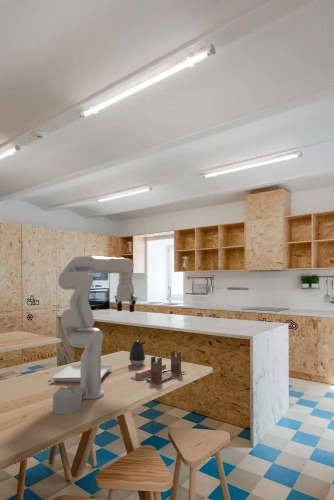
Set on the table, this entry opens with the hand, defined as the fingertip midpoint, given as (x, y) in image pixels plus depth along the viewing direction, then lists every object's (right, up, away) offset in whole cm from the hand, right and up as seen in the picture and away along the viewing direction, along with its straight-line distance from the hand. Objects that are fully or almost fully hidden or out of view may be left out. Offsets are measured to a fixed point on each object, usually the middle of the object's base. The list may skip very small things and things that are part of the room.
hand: (125, 311), depth 194 cm
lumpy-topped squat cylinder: (-18, -33, -49) cm, 62 cm away
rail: (+15, -36, +1) cm, 39 cm away
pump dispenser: (+5, -38, +23) cm, 45 cm away
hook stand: (+23, -36, -5) cm, 43 cm away
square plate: (-23, -37, -3) cm, 44 cm away
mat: (+15, -36, +1) cm, 39 cm away
